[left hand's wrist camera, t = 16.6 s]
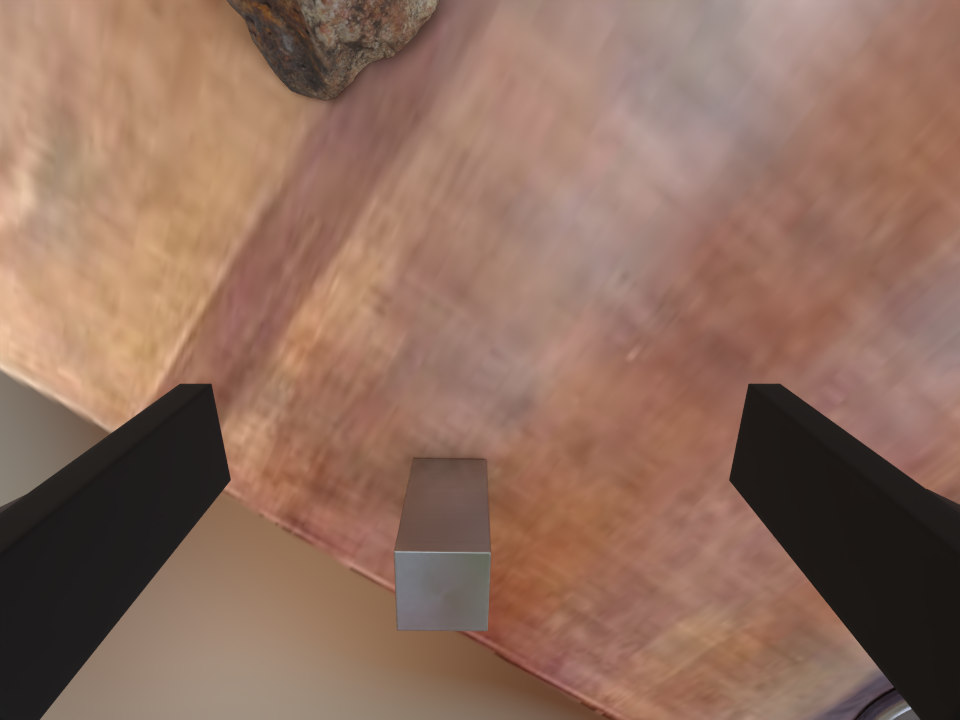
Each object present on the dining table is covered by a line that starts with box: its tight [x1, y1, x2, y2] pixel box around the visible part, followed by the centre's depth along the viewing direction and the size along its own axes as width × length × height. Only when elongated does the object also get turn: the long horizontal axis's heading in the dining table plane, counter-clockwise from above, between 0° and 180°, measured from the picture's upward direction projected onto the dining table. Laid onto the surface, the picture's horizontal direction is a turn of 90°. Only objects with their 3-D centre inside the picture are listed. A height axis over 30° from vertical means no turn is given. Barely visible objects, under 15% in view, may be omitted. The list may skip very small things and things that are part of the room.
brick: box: [394, 458, 491, 631], centre depth 33 cm, size 5×6×10 cm
